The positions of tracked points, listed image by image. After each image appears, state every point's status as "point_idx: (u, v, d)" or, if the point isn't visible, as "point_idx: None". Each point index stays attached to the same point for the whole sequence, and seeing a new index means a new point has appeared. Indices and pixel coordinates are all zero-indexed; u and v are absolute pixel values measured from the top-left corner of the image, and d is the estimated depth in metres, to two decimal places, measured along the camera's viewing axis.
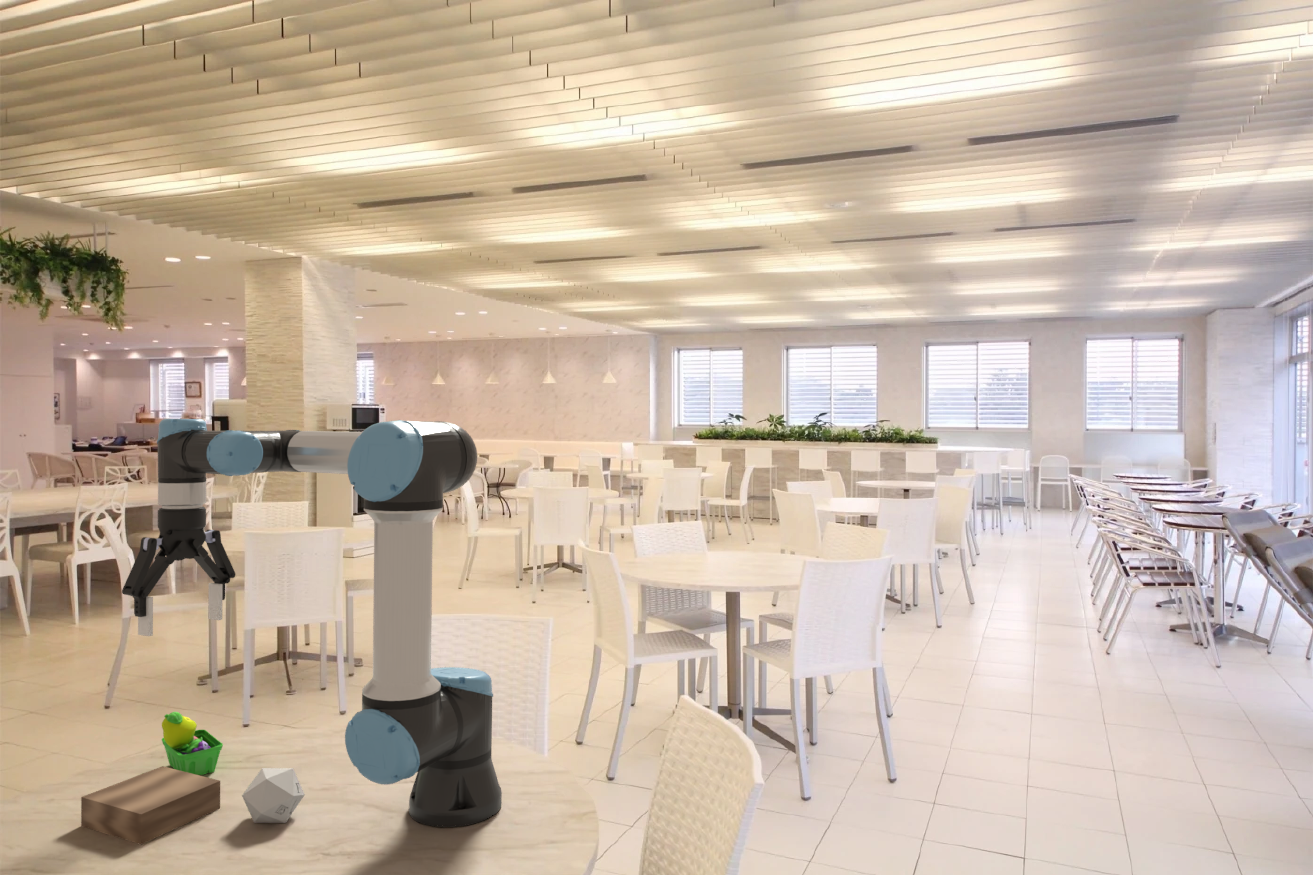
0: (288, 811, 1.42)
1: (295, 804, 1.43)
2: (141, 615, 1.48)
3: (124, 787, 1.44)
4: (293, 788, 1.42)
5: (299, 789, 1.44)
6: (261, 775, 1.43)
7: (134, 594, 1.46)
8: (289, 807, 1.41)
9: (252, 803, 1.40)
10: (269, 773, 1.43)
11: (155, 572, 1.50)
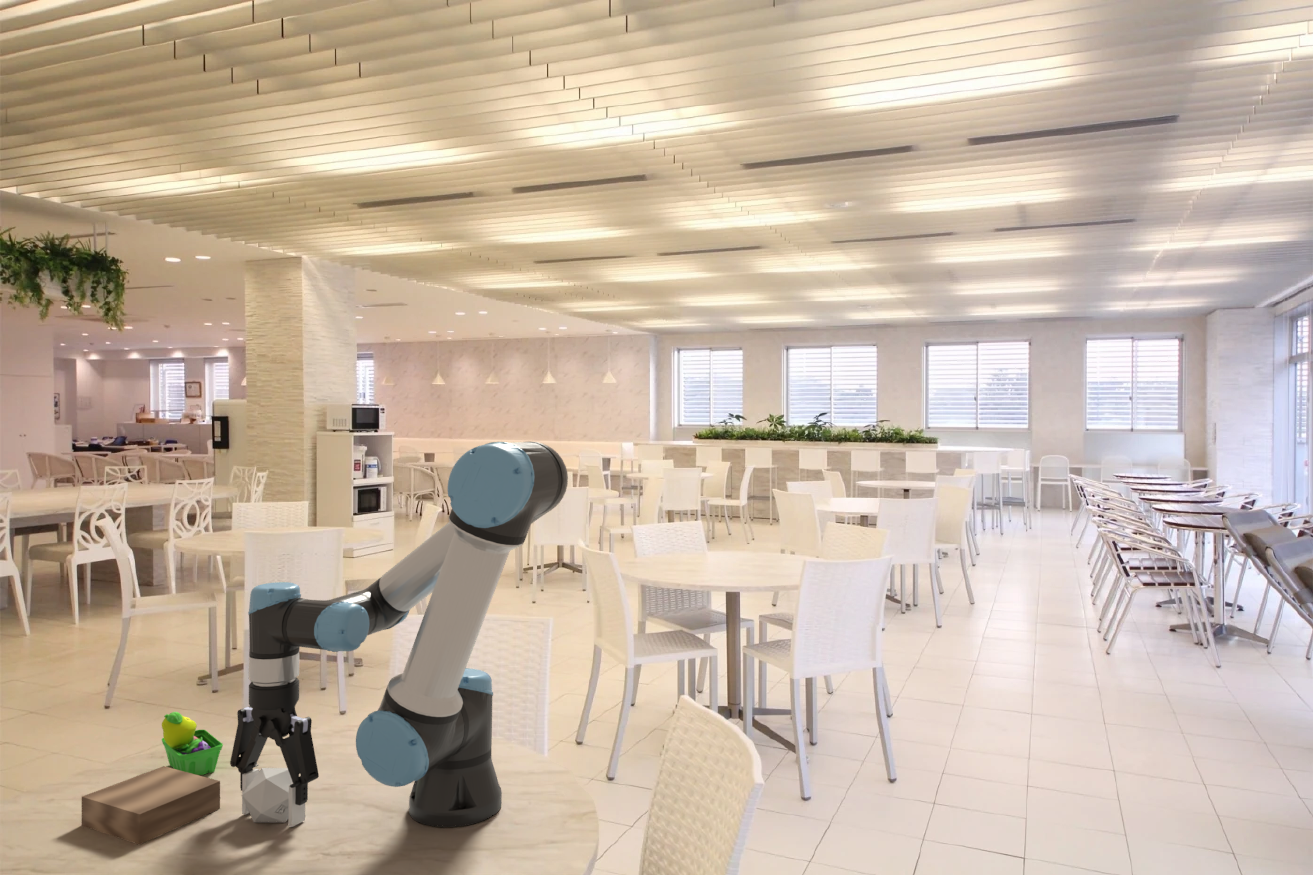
0: (288, 811, 1.42)
1: None
2: (241, 789, 1.45)
3: (124, 786, 1.44)
4: None
5: None
6: (260, 774, 1.43)
7: (232, 765, 1.45)
8: None
9: (252, 803, 1.40)
10: (269, 772, 1.43)
11: None
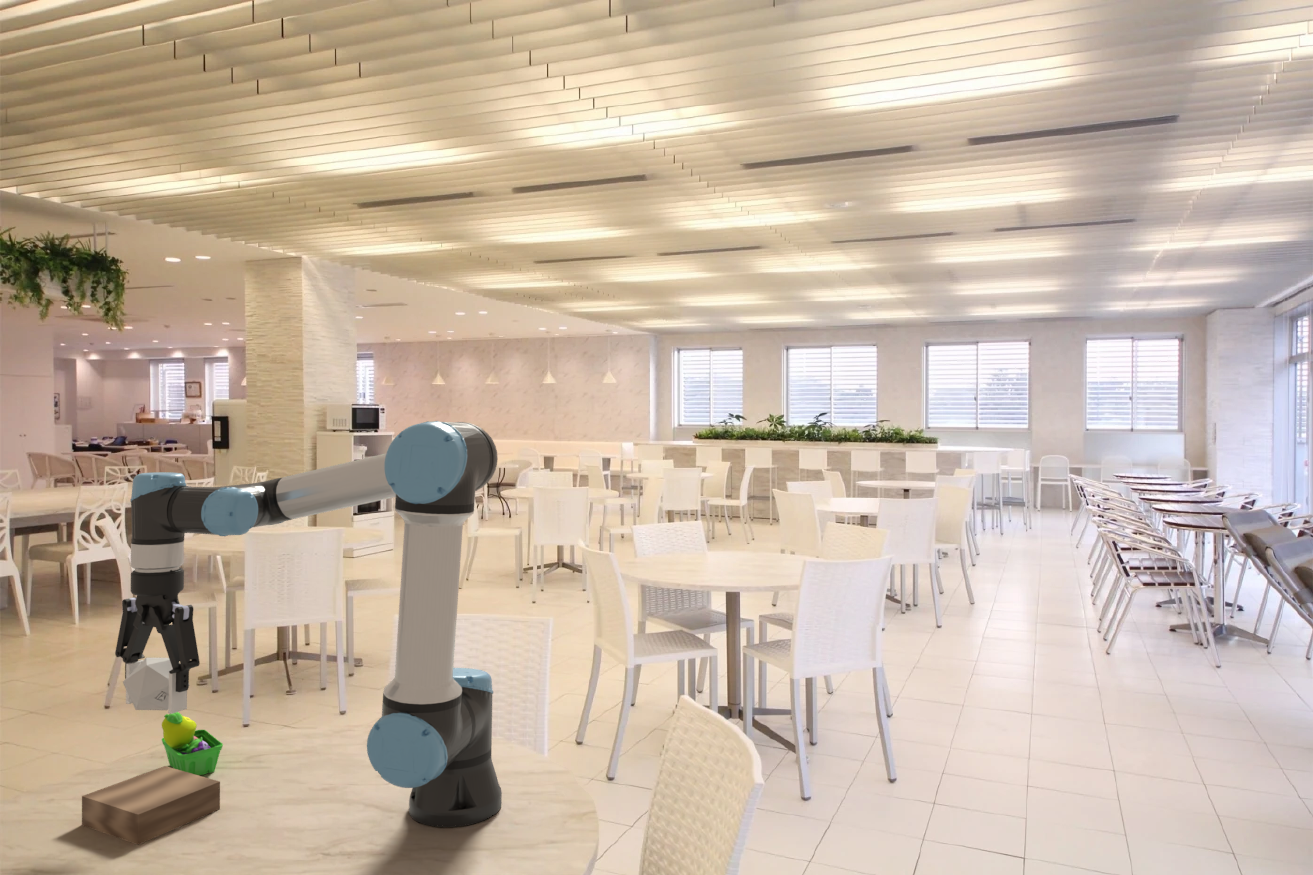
0: None
1: None
2: None
3: (124, 786, 1.44)
4: None
5: None
6: (143, 663, 1.43)
7: (117, 655, 1.45)
8: None
9: (132, 689, 1.40)
10: (152, 661, 1.43)
11: None
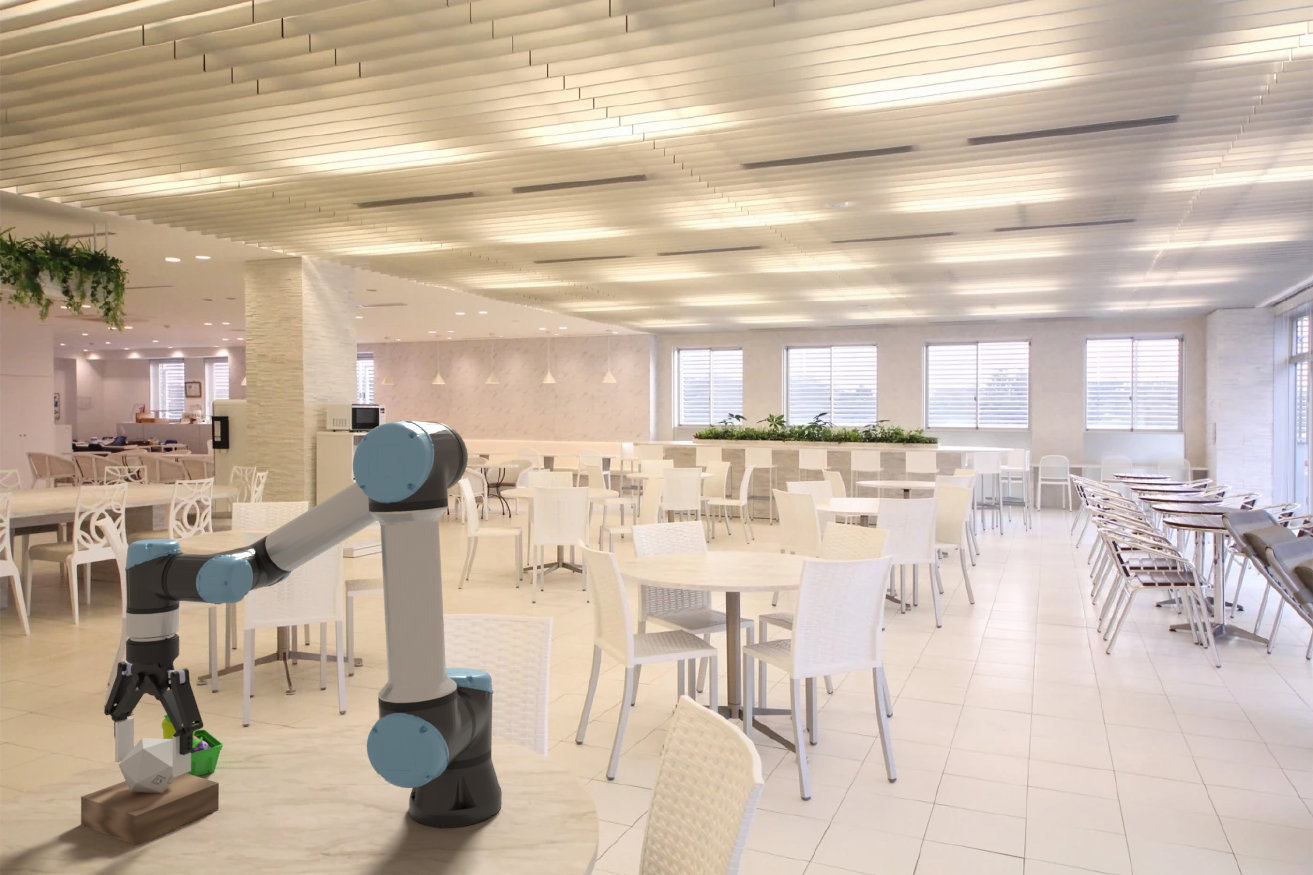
0: (165, 781, 1.42)
1: None
2: None
3: (124, 787, 1.44)
4: (171, 759, 1.42)
5: None
6: (139, 745, 1.43)
7: (105, 713, 1.46)
8: (166, 777, 1.42)
9: (128, 773, 1.40)
10: (148, 743, 1.43)
11: None
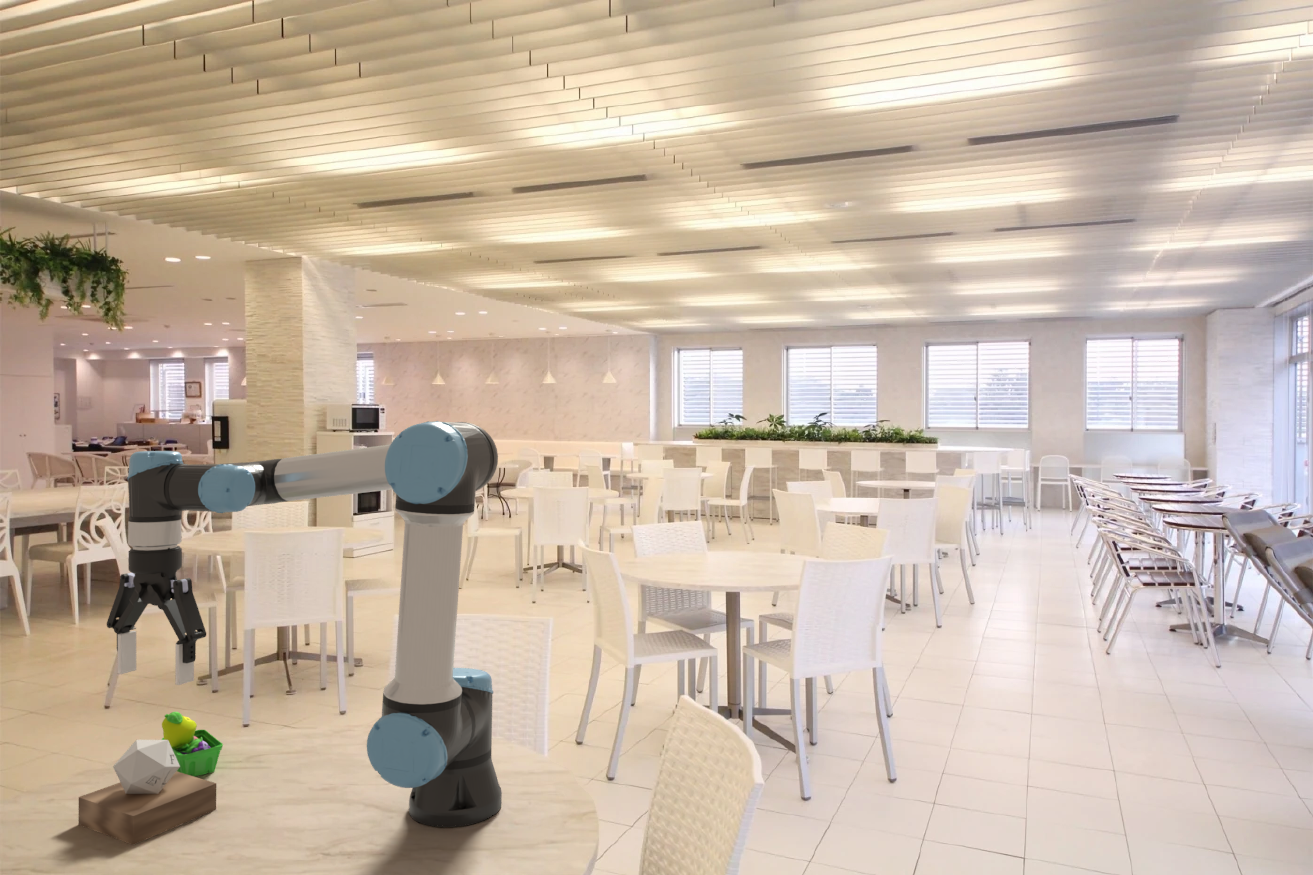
0: (160, 782, 1.42)
1: (168, 775, 1.43)
2: (118, 650, 1.46)
3: (121, 787, 1.44)
4: (166, 759, 1.42)
5: (173, 761, 1.44)
6: (133, 746, 1.43)
7: (108, 626, 1.46)
8: (161, 778, 1.41)
9: (123, 774, 1.40)
10: (142, 744, 1.43)
11: None
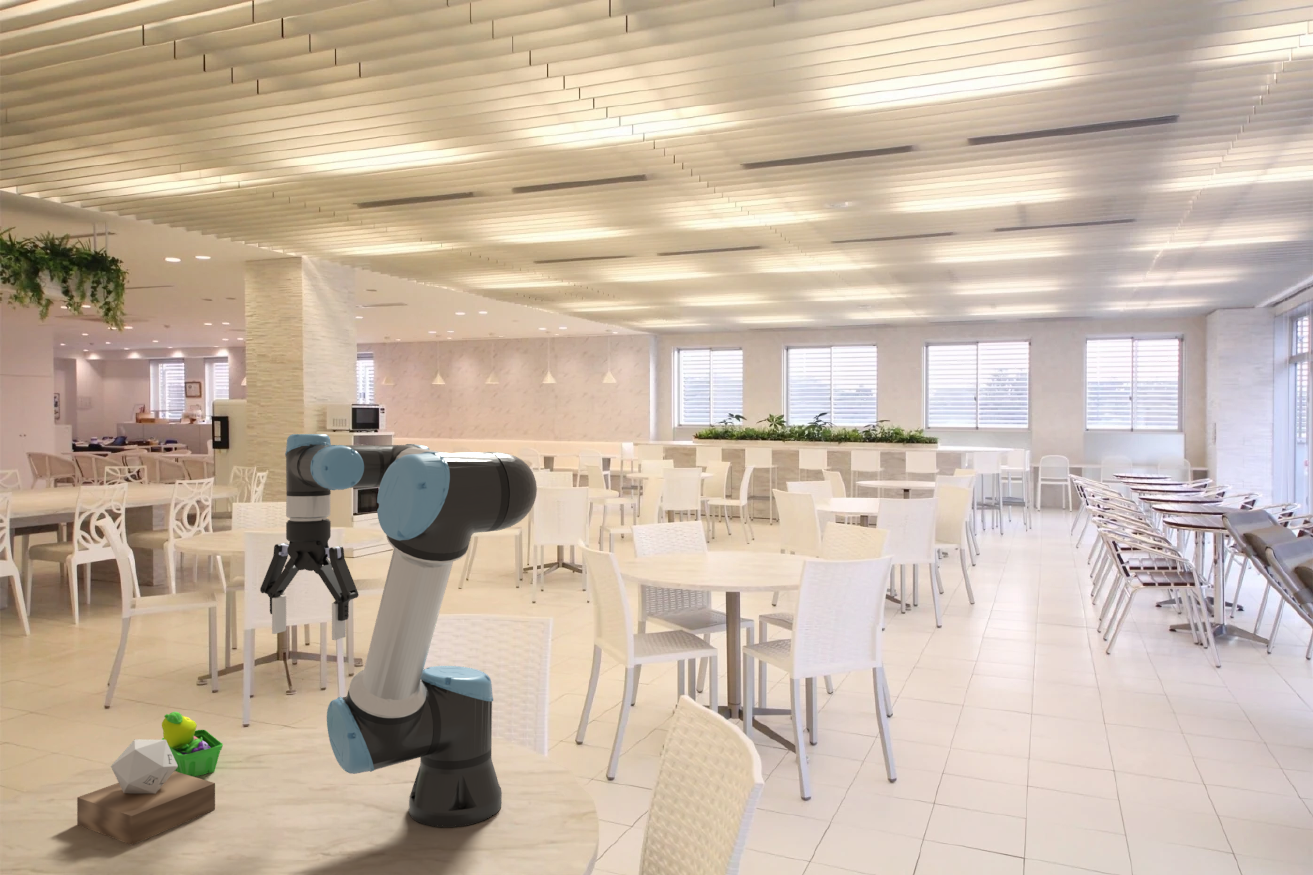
0: (158, 782, 1.42)
1: (166, 775, 1.43)
2: (271, 612, 1.63)
3: (120, 787, 1.44)
4: (164, 759, 1.42)
5: (171, 760, 1.44)
6: (131, 746, 1.43)
7: (261, 591, 1.63)
8: (158, 778, 1.41)
9: (120, 774, 1.40)
10: (140, 744, 1.43)
11: (280, 576, 1.62)
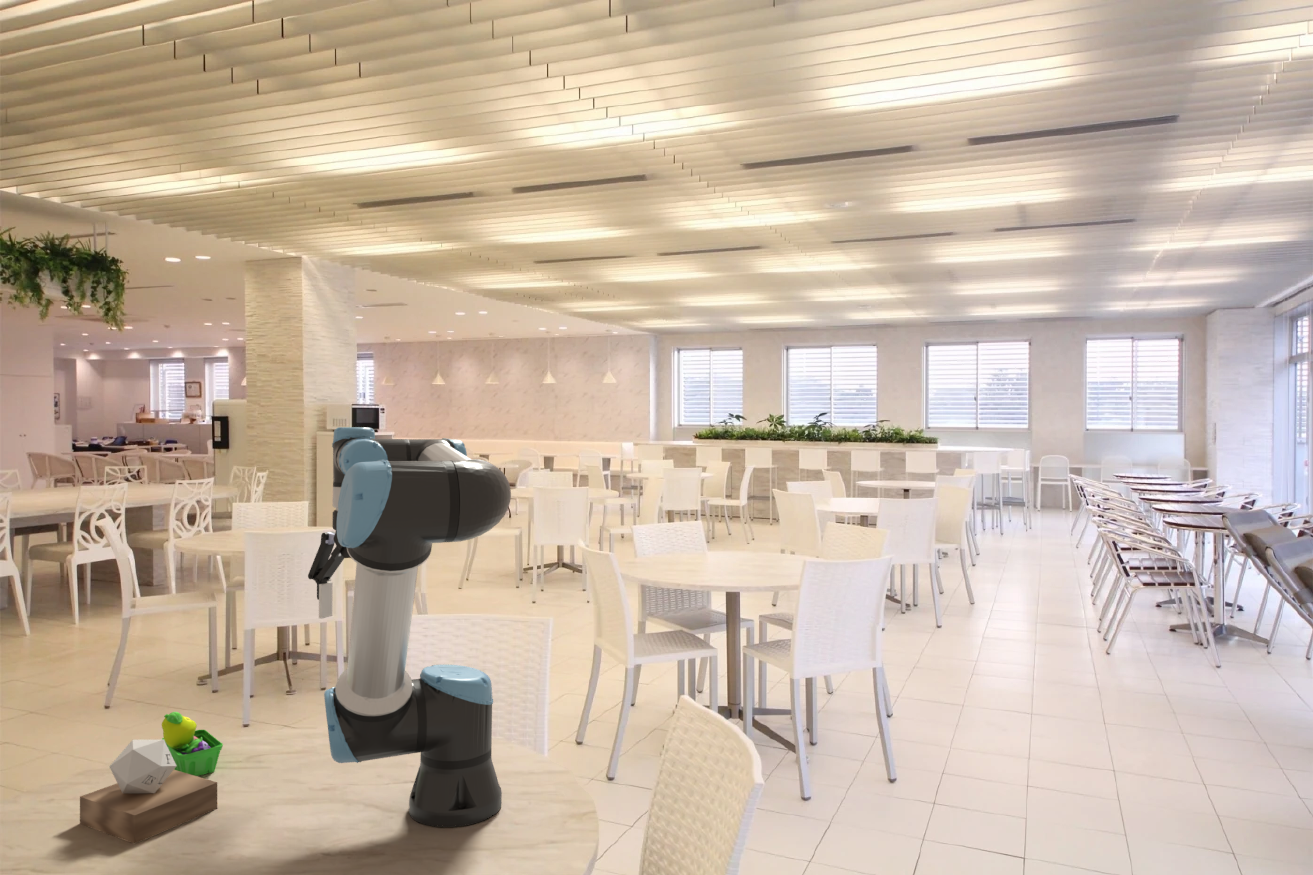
0: (156, 782, 1.42)
1: (165, 775, 1.44)
2: (318, 598, 1.70)
3: None
4: (162, 759, 1.42)
5: (170, 760, 1.45)
6: (129, 746, 1.43)
7: (309, 578, 1.70)
8: (157, 778, 1.42)
9: (119, 774, 1.40)
10: (138, 744, 1.43)
11: None
